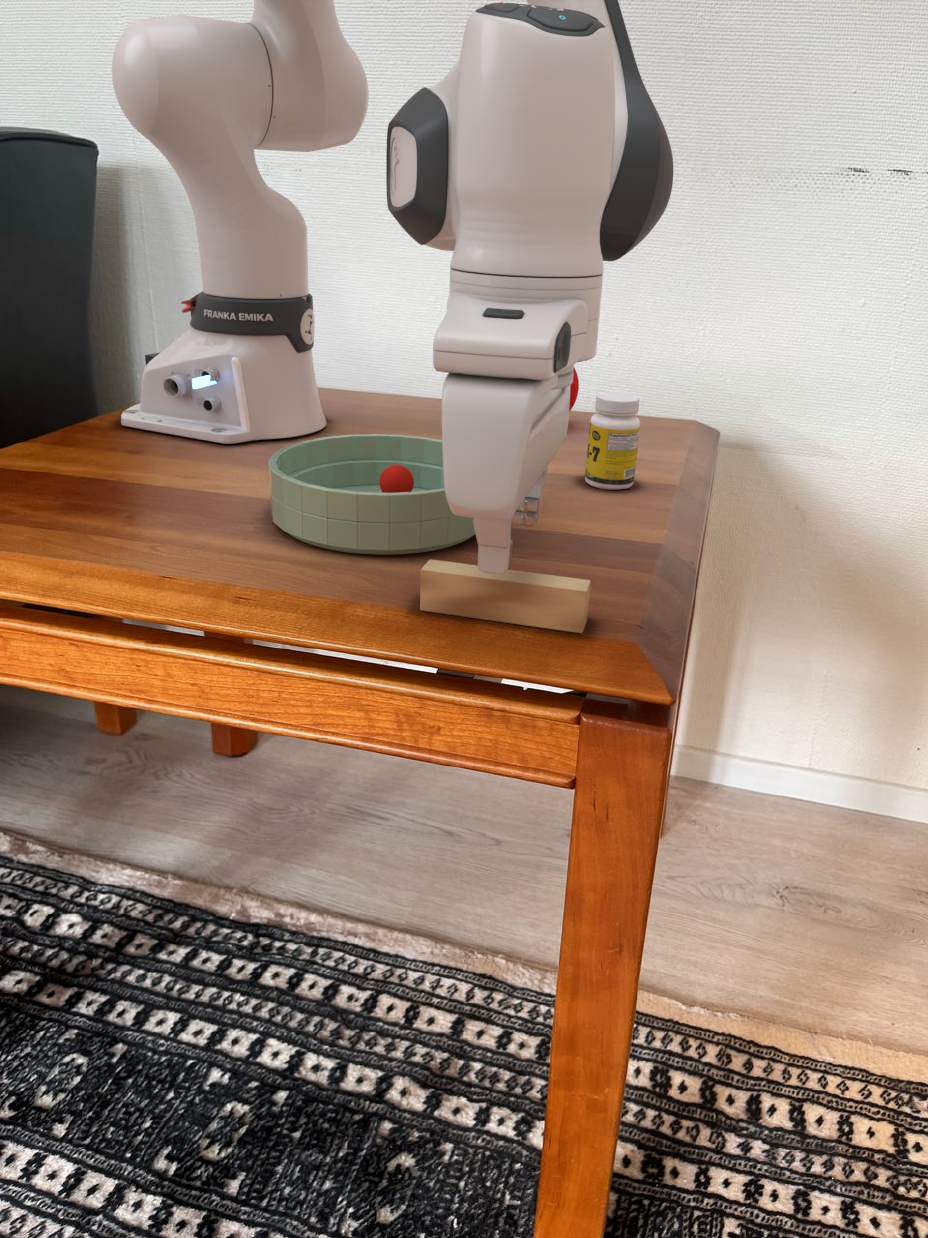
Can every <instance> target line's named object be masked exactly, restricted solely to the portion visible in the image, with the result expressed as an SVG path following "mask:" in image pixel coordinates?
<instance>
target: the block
mask: <svg viewBox="0 0 928 1238" xmlns="http://www.w3.org/2000/svg"><path fill="white" fill-rule="evenodd" d="M591 583H592V581H591V580H590V579H585V578H584V579H583V578H577V577H570V576H569V577H568V576H561V575H554V574H546V573H545V574H544V573H538V572H532V571H531V572H529V571H523V570H517V569H516V570H515V569H509V568H508V569H507V571H506V572H505V573H504V574H502V575H497V574H489V573H483V572H482V571H480V570H479V568H478V564H476V565H475V564H468V563H461V562H453V561H447V560H446V561H445V560H440V559H439V560H438V559H431V558H429V559H428V560H427V562H426V563H424V565H423V566H422V567H421V568H420V589H419V591H420V593H419V600H420V601H419V610H420V611H423V612H428V613H436V614H442V615H444V614H445V615H449V616H457V617H463V618H469V619H470V618H471V619H477V620H484V621H485V620H486V621H491V622H492V621H493V622H499V623H506V624H513V625H519V626H528V627H534V628H540V629H547V630H555V631H562V632H567V633H568V632H569V633H577V634H583V633H584V630H585V627H586V624H587V621H588V613H589V602H590V594H591V593H590V592H591Z"/></svg>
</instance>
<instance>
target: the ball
mask: <svg viewBox="0 0 928 1238" xmlns="http://www.w3.org/2000/svg"><path fill="white" fill-rule="evenodd" d="M379 484H380V488H381V490H382V492H383V493H399V492H411V491H412V489H413V486H414V479H413V476H412V474H411V472H410V471H409V470H408V469H407V468H406V467H404V466H401V465H392V466H389V467H387V468H386V469H385V470H384V471H383V472H382V474H381V476H380V480H379Z"/></svg>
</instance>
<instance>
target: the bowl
mask: <svg viewBox="0 0 928 1238" xmlns="http://www.w3.org/2000/svg"><path fill="white" fill-rule="evenodd" d="M267 463H268V464H267V465H268V487H269V509H270V510H269V511H270V512H269V513H270V516H271V519H272V523H274V524H275V525H276V526H277V527H278V528H279V529H281V530H282V531H283V532H285V533H287V534H288V535H290V536H291V537H292V538H294V539H296V540H299V541H301V542H303V543H306V544H308V545H311V546H315V547H318V548H321V549H327V550H331V551H336V552H342V553H350V554H358V555H359V554H360V555H381V556H385V555H388V556H389V555H390V556H391V555H409V554H419V553H426V552H432V551H437V550H443V549H446V548H450V547H453V546H456V545H458V544H462V543H463V542H466V541H468V540H470V539H471V538H472V537H474V536H476V534H475V529H474V525H473V518H470V517H462V516H457V515H455V514H453V513H452V512H451V510H450V507H449V505H448V502H447V498H446V494H445V488H444V473H443V450H442V439H438V438H431V437H425V436H417V435H416V436H415V435H406V434H385V433H361V434H358V433H357V434H343V435H333V436H323V437H318V438H313V439H308V440H307V439H306V440H302V441H300V442H296V443H293V444H290V445H287V446H284V447H282V448H281V449H279V450H277V451H276V452H274V453H273V454H272V455H271V457H270V459H269V460H268V461H267ZM392 465H401V466H404V467H406V468H407V469H408V470H409V471H410V472H411V474H412V476H413V479H414V486H413V489H412V491H411V492H399V493H383V492H382V490H381V488H380V484H379V480H380V476H381V474H382V472H383V471H384V470H385V469H386V468H387V467H389V466H392Z"/></svg>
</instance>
